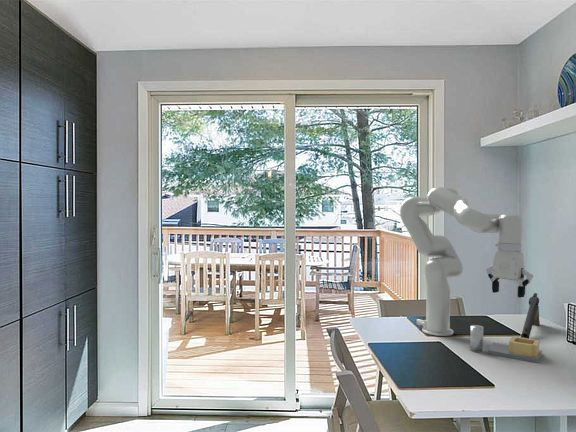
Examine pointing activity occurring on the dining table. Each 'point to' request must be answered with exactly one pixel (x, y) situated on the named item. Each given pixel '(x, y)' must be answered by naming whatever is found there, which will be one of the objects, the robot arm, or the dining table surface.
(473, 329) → the pipe stub
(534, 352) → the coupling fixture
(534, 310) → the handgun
